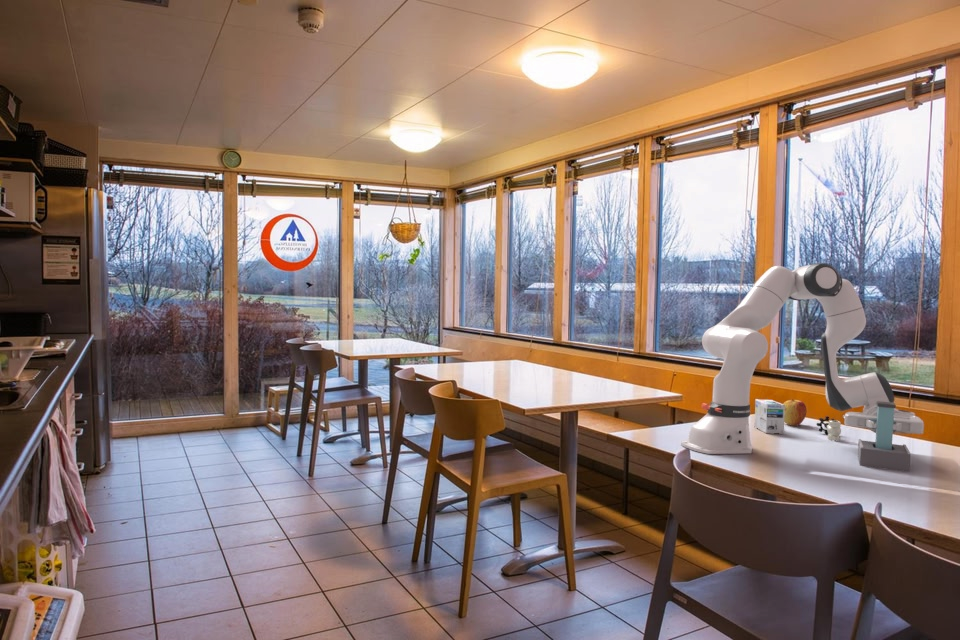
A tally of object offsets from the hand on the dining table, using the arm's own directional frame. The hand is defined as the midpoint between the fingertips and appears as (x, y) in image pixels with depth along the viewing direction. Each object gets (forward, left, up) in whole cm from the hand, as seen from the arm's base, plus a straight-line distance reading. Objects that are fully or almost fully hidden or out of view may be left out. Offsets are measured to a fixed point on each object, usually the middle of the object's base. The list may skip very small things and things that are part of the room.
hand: (884, 427), depth 187 cm
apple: (+24, +55, -12) cm, 61 cm away
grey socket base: (+1, +1, -12) cm, 12 cm away
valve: (+20, +34, -12) cm, 42 cm away
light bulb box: (+6, +49, -12) cm, 50 cm away
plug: (+1, +1, -11) cm, 11 cm away
